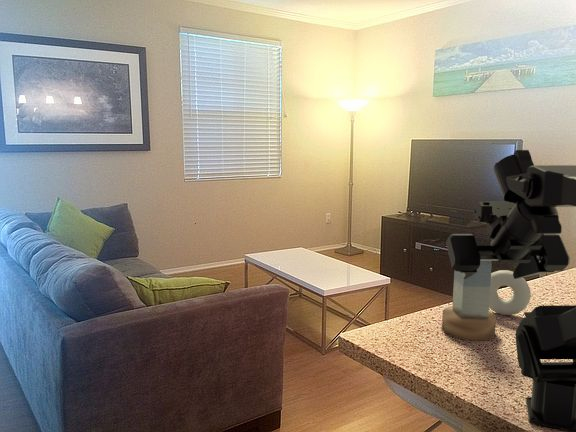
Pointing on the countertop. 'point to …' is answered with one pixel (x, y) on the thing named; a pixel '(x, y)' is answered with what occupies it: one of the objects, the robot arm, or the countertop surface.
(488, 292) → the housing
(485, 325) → the pedestal
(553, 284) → the countertop surface
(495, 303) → the donut
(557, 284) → the countertop surface
